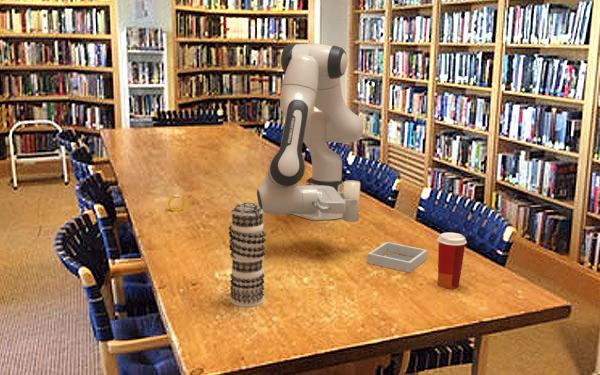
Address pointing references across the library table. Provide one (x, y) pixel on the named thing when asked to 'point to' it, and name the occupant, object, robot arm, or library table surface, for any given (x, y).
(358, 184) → the white pillar candle
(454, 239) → the paper cup
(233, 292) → the decorative candle
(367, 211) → the library table surface
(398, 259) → the corral
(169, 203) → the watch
